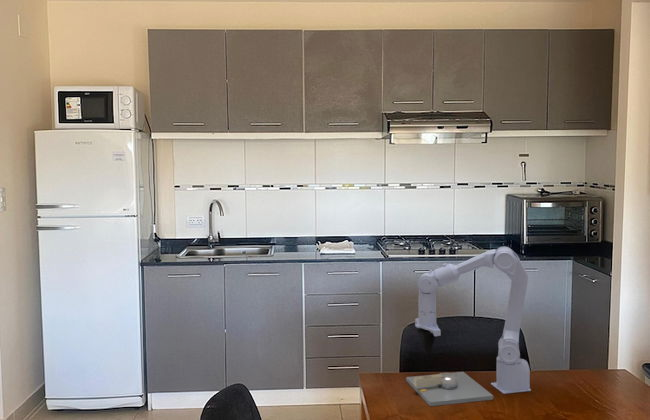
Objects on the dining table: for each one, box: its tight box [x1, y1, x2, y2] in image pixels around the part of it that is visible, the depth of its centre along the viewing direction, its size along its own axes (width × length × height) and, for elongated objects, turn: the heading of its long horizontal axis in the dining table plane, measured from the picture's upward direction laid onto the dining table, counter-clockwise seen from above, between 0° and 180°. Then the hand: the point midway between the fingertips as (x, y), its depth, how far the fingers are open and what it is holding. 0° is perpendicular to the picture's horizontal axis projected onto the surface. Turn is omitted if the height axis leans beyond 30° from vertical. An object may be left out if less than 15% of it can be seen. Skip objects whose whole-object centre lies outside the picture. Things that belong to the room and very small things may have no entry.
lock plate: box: [405, 371, 494, 407], centre depth 170 cm, size 20×20×2 cm
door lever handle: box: [414, 372, 458, 389], centre depth 169 cm, size 14×6×4 cm, turn 105°
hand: (427, 351), depth 178 cm, fingers closed
